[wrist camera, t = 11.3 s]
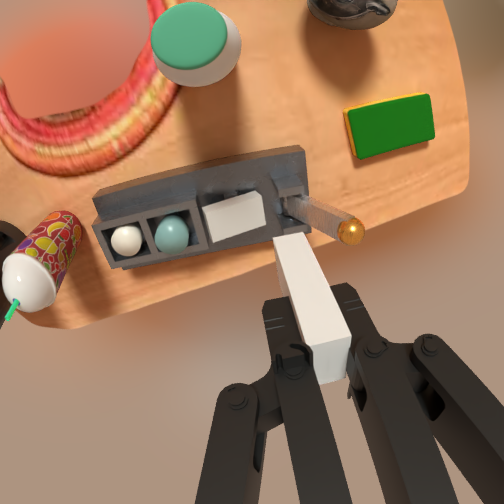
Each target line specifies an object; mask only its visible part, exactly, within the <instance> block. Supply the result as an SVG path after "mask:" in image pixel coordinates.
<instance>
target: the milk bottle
mask: <svg viewBox="0 0 504 504" xmlns="http://www.w3.org/2000/svg"><path fill="white" fill-rule="evenodd" d="M151 46H152V49H153V57H154V61H155V63H156V65H157V67H158V69H159V70H160V71H161V73H162V74H163V75H164V76H165V77H167V78H168V79H169V80H171V81H172V82H174V83H177V84H179V85H183V86H188V87H201V86H207V85H210V84H213V83H215V82H218V81H219V80H221V79H223V78H224V77H225V76H227V75H228V74H229V73H230V72H231V71H232V69H233V68H234V67H235V65H236V63H237V61H238V59H239V56H240V53H241V37H240V33H239V31H238V29H237V27H236V25H235V24H234V23H233V21H232V20H231V19H230V18H229V17H227V16H226V15H225V14H223V13H221V12H219V11H217V10H215V9H214V8H213V7H211V6H209V5H206V4H203V3H198V2H187V3H181V4H178V5H175V6H173V7H171V8H169V9H168V10H166V11H165V12H164V13H163V14H162V15H161V16H160V17H159V18H158V19H157V21H156V22H155V24H154V26H153V29H152V32H151Z"/></svg>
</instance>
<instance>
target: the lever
mask: <svg viewBox="0 0 504 504" xmlns="http://www.w3.org/2000/svg"><path fill="white" fill-rule="evenodd" d="M282 205H283V213H284V215H286V216H292V217H294V218H296V219H298V220H300V221H302V222H304V223H306V224H308V225H310V226H312V227H314V228H315V229H317V230H319V231H321V232H323V233H325V234H327V235H329V236H331V237H332V238H334V239H336V240H338V241H340V242H342V243H343V244H345V245H349V246H354V245H357V244H358V243H360V242H361V241H362V240H363V238H364V236H365V227H364V225H363V223H362V222H361V221H360V220H359V219H358V218H355V216H353V215H350V214H348V213H346V212H344V211H341V210H339V209H337V208H335V207H332V206H330V205H328V204H326V203H323V202H321V201H319V200H316V199H314V198H312V197H309V196H307V195H304V194H298V195H292V196H287V197H282Z"/></svg>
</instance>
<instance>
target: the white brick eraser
mask: <svg viewBox="0 0 504 504" xmlns="http://www.w3.org/2000/svg"><path fill="white" fill-rule="evenodd" d="M202 211H203V215H204V218H205V222H206V226H207V229H208V233H209V236H210V238H211V240H212V242H213V243H214V242H217V241H220V240H223V239H226V238H229V237H231V236H234V235H237V234H240V233H243V232H246V231H249V230H252V229H255V228H258V227H261V226H264V225H266V221H265V214H264V208H263V202H262V196H261V195H260V194H259V193H258V192H256V191H252V192H249V193H246V194H242V195H239V196H236V197H233V198H230V199H226V200H223V201H220V202H217V203H214V204H211V205H208V206H205V207H202Z"/></svg>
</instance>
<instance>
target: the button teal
mask: <svg viewBox="0 0 504 504" xmlns="http://www.w3.org/2000/svg"><path fill="white" fill-rule="evenodd" d="M188 238H189V226H188V223H187V222H186V221H185V220H184V219H183V218H181V217H179V216H175V215H170V216H167V217H164V218H163V219H162V220H161V221H160V222H159V225H158V228H157V231H156V234H155V244H156V246H157V247H158V249H160V250H161V251H162V252H164V253H166V254H178V253H180V252H182V251H183V250H185V248H186V247H187V244H188Z"/></svg>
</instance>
